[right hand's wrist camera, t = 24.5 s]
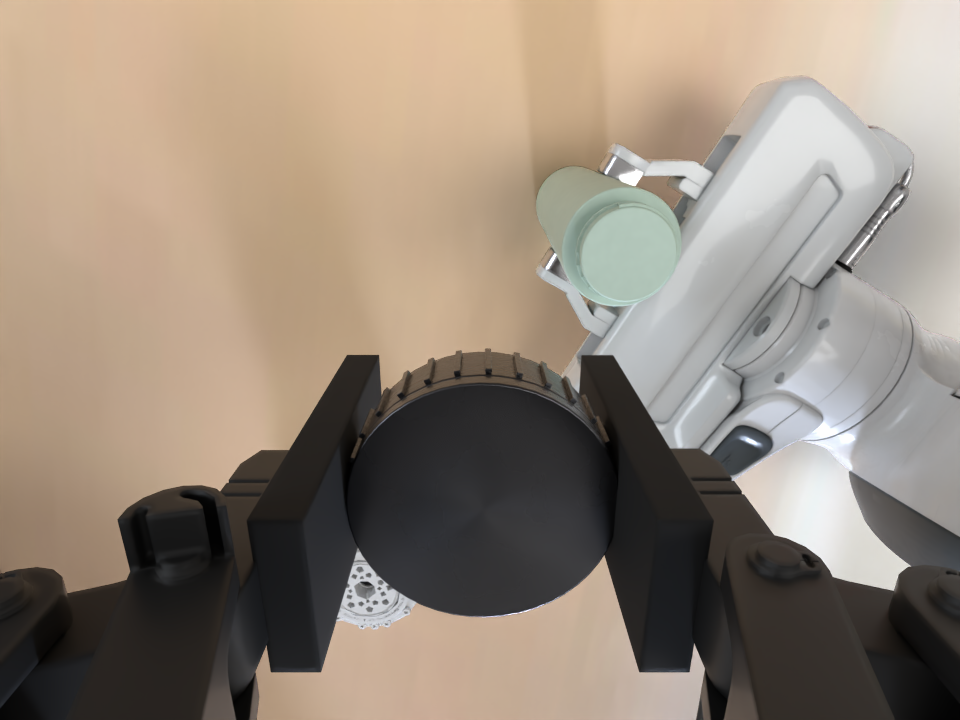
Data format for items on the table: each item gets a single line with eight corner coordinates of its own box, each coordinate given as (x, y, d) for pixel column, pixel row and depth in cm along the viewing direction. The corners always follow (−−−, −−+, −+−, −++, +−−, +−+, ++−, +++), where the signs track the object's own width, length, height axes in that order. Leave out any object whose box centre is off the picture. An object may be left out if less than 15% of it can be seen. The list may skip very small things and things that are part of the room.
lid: (630, 535, 13) (650, 587, 11) (405, 589, 13) (396, 646, 12) (575, 315, 11) (589, 343, 9) (319, 387, 11) (296, 424, 10)
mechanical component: (451, 594, 47) (431, 485, 43) (447, 639, 43) (425, 522, 39) (326, 605, 47) (297, 498, 44) (310, 650, 43) (277, 536, 40)
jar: (610, 236, 37) (693, 309, 21) (539, 245, 37) (570, 322, 22) (607, 161, 35) (693, 182, 20) (532, 171, 36) (560, 198, 20)
